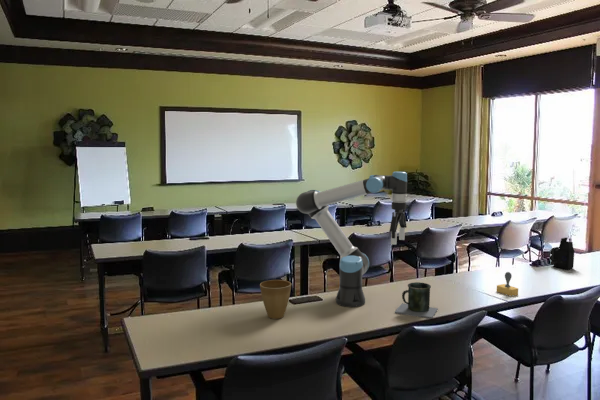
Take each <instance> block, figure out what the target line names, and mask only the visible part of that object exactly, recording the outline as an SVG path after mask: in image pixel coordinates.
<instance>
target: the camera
mask: <svg viewBox="0 0 600 400" xmlns="http://www.w3.org/2000/svg"><path fill="white" fill-rule="evenodd" d="M549 254H550V256H549V261H550V265H552V266H553V267H555V268H559V269H564V270H565V271H567V270H571V269H574V262H575V248H574V244H573V241H568V237H562V238H560V242H559V246H556V247H552V248H551V249H550V250H549Z"/></svg>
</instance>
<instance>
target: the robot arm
mask: <svg viewBox="0 0 600 400" xmlns="http://www.w3.org/2000/svg"><path fill="white" fill-rule="evenodd" d="M382 190H385V191H386V190H387V191H391V209H392V210H394V211H393V212H392V213H391V222H390V225H389V226H390V227H389V230H388V232H390V233H391V234H390V245H392V246H393V245H397V243H398V242H397V241H398V240H399V241H405V239H406V238H405V234H406V233H405V232H406V231H405V230H406V229H407V220H406V209H407V199H408V195H407V193H408V173H407V172H406V171H393V172H392V174H391V175H390V174H389V175H386V174H385V175H384V174H370V175H369V176H368V178H366V179H361V180H358V181H355V182H352V183H351V182H350V183H347V184H344V185H340V186H337V187H333V188H330V189H326V190H323V191H320V190H316V189H311V190H308V191H307V190H306V191H303V192H302V193H300V194H299V195H298V196H297V197H296V201H295V205H296V208H297V209H298V211H299V212H300V213H302V214H307V215H308V216H309V217H310V218H311V219H313V220H315V221H316V223H317V224H318V226H319V227H320V228H321V230H322V231H323V232H324V234H325V235H326V237H327V238H328V240H329V241H330V243H331V244H332V245H333V246H334V248H335V250H336V251H337V252H338V254H339V256H340V258H339V284H338V285H339V287H338V290H337V293H336V297H335V303H336V304H337V305H339V306H342V307H349V308H350V307H351V308H353V307H354V308H355V307H356V308H358V307H362V306H363V305H365V304H366V297H365V294H364V290H363V275H364V274H367V271H368V270H369V268H370V260H369V257H368V256H367V255H366V254H365V253H364V252H361V250H360V249H359V248H358V247H357V246H354V245H353V244H352V242H351V241H350V239H349V238H348V237H347V235H346V234H345V232H344V231H343V229H342V228H341V226H340V225H339V223H337V221H336V219H335V218H334V216H333V215H332V214H331V212H330V211H329V205H332V204H333V205H334V204H336V203H341V202H344V201H348V200H351V199H354V198H359V197H362V196H366V195H369V194H375V193H379V192H380V191H382ZM398 225H399V228H398ZM397 229H399V231H398V232H399V236H398V235H397V234H398V232H397ZM397 236H398V238H397Z"/></svg>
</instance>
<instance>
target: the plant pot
mask: <svg viewBox="0 0 600 400" xmlns="http://www.w3.org/2000/svg"><path fill="white" fill-rule="evenodd" d="M259 289H260V294H261V299H262V301H263V302H262V303H263V307H264V309H265V312H266V313H267V317H268V318H270V319H272V320H273V319H274V320H276V319H282V318H284V316H285V313H286V311H287V309H288V304H289V300H290V295H291V290H292V283H291V281H287V280H283V279H271V280H264V281H261V282H260V284H259Z"/></svg>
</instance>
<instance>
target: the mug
mask: <svg viewBox="0 0 600 400" xmlns="http://www.w3.org/2000/svg"><path fill="white" fill-rule="evenodd" d="M431 287H432V285H430V284H429V283H427V282H417V281H416V282H410V283H408V284H407V288H408V289H406V290H403V291H402V294H401V295H402V296H401V298H402V301H403V303H404V304H408V308H409V309H410V310H412V311H416V312H425V311H428V310H429V307H430V303H431V302H430V297H431V296H430V295H431ZM406 294H408V295H407V296H408V297H407V301H406V298H405V296H406Z"/></svg>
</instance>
